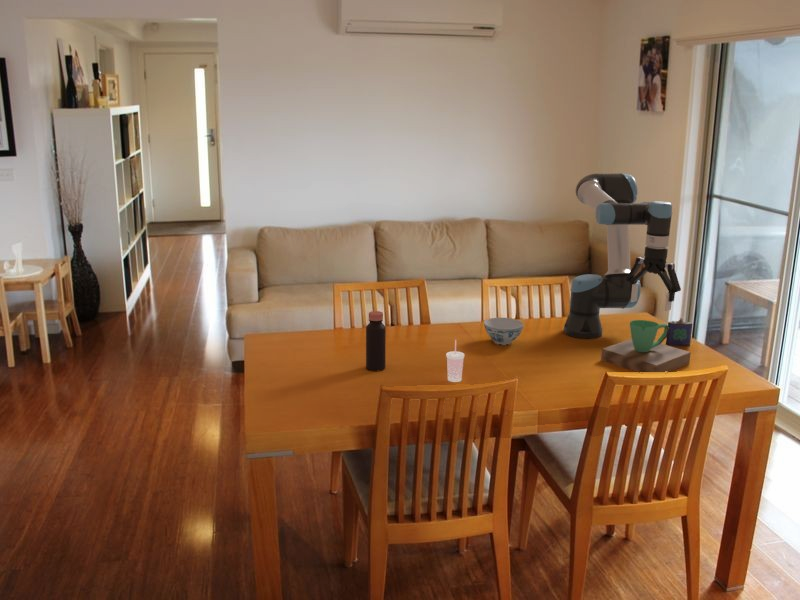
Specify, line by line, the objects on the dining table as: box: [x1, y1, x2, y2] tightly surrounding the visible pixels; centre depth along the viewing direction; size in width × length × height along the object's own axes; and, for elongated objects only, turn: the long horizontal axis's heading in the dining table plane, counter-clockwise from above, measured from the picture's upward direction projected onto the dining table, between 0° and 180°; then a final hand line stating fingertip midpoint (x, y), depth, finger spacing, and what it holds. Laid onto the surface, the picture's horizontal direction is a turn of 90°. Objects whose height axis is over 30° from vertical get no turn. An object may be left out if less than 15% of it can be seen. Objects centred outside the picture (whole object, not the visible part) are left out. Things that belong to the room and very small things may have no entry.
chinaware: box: [483, 317, 524, 346], centre depth 293 cm, size 15×15×8 cm
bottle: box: [365, 310, 387, 372], centre depth 263 cm, size 7×7×20 cm
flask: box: [665, 317, 693, 347], centre depth 292 cm, size 9×3×11 cm, turn 87°
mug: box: [629, 319, 669, 352], centre depth 272 cm, size 15×10×10 cm
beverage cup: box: [445, 339, 466, 383], centre depth 254 cm, size 6×6×14 cm
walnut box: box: [600, 338, 692, 373], centre depth 274 cm, size 22×22×5 cm
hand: (650, 305), depth 269 cm, fingers open, 13 cm apart
